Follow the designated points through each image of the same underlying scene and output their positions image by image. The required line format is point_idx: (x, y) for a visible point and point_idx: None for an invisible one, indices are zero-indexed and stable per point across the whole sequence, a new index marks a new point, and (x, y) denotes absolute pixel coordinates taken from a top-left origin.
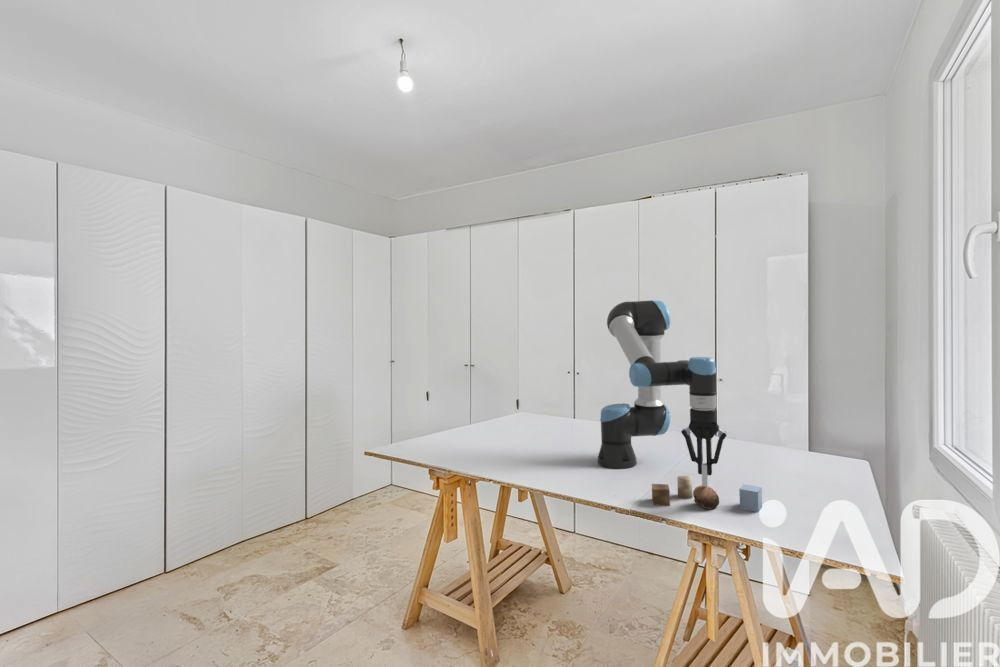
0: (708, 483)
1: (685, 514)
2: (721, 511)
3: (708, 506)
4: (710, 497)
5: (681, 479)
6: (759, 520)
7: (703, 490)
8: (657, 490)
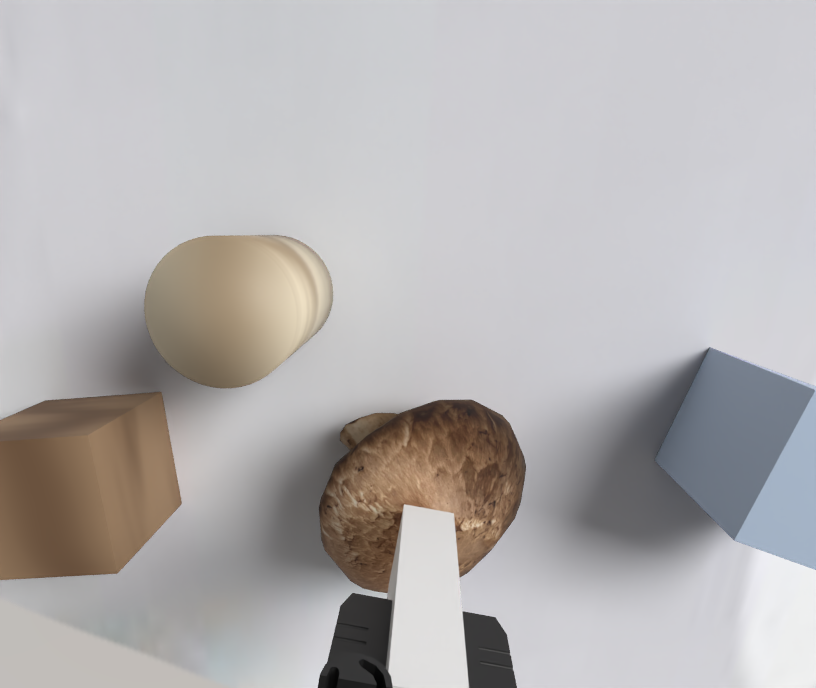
0: (453, 518)
1: (287, 626)
2: (518, 535)
3: None
4: None
5: (190, 371)
6: (733, 631)
7: None
8: (25, 572)
